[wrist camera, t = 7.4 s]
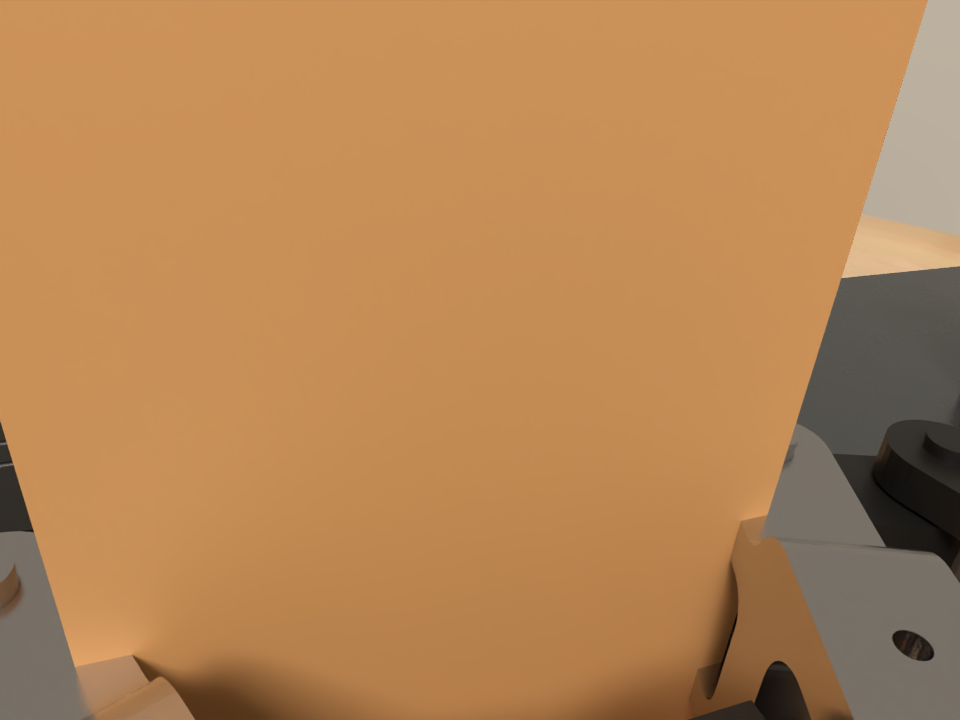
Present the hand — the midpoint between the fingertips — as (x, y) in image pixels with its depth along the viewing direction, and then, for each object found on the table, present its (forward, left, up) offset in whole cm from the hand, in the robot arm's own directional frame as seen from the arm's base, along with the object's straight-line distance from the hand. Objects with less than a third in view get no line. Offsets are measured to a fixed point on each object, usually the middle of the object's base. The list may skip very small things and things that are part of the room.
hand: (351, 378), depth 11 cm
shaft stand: (+15, -12, -6) cm, 20 cm away
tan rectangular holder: (-2, -2, -6) cm, 7 cm away
